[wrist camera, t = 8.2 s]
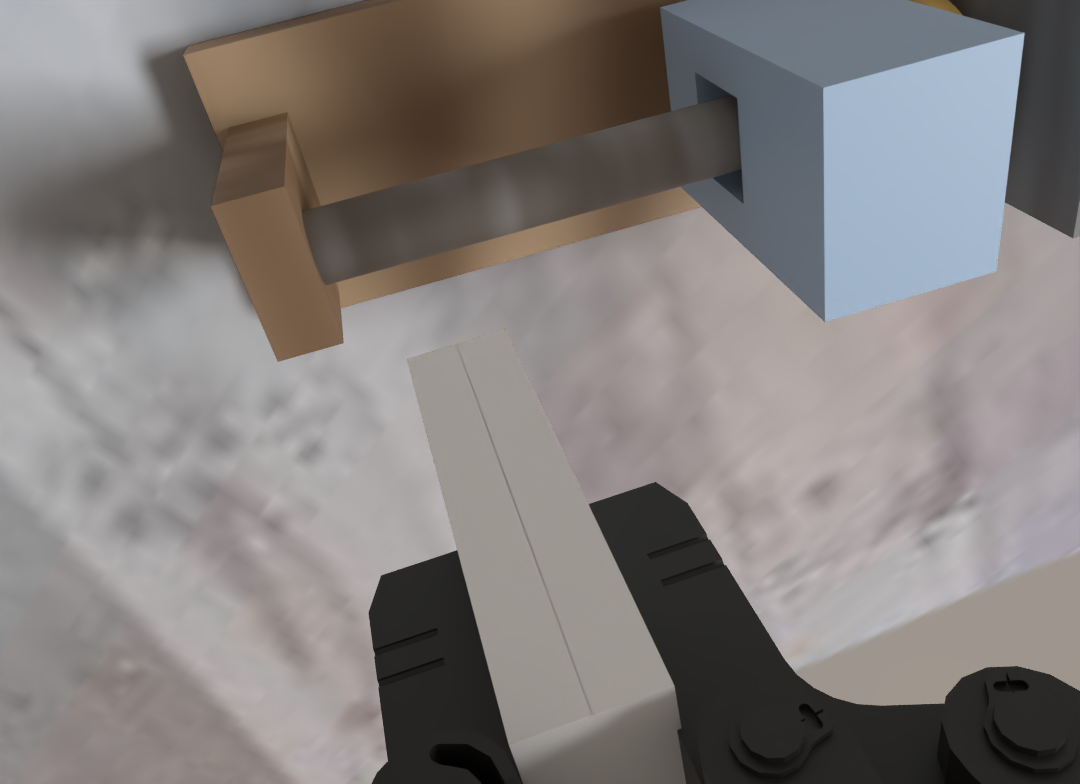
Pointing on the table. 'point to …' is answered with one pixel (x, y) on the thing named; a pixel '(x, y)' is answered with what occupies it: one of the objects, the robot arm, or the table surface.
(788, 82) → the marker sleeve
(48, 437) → the table surface
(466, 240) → the sliding block fixture
